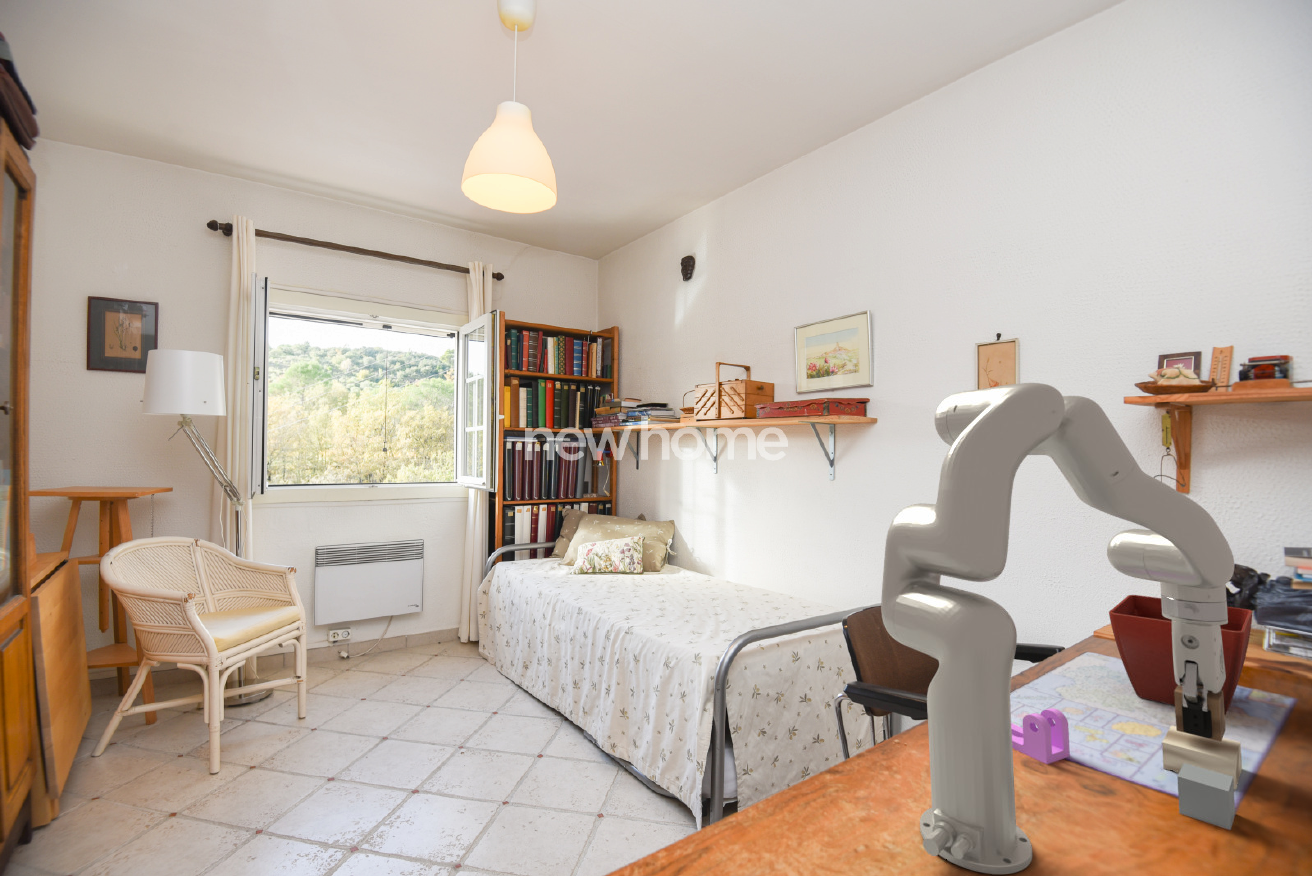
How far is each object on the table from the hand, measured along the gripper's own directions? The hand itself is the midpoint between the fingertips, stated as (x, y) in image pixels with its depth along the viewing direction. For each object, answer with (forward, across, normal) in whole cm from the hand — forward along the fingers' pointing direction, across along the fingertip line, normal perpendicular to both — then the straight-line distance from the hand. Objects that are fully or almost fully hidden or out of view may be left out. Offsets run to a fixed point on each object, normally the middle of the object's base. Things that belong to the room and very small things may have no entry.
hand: (1200, 727), depth 91 cm
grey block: (+6, -14, -2) cm, 16 cm away
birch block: (+6, 0, 0) cm, 6 cm away
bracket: (+7, -10, +22) cm, 25 cm away
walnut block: (+1, 0, 0) cm, 1 cm away
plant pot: (+7, +31, +6) cm, 32 cm away
